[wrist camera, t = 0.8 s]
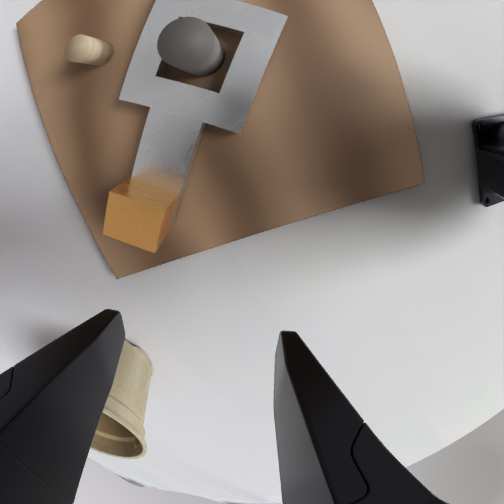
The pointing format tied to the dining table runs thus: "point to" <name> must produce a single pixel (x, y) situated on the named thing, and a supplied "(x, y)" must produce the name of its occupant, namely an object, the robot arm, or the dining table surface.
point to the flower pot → (125, 407)
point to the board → (218, 139)
